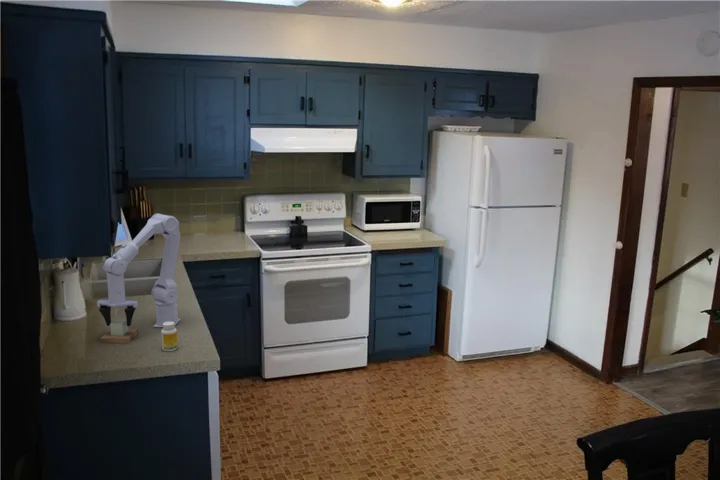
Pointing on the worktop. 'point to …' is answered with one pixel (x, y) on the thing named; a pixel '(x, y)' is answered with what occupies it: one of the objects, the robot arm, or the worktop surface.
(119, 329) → the sage block
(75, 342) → the worktop surface
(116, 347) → the worktop surface
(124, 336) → the brown square pad
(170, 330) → the supplement bottle
